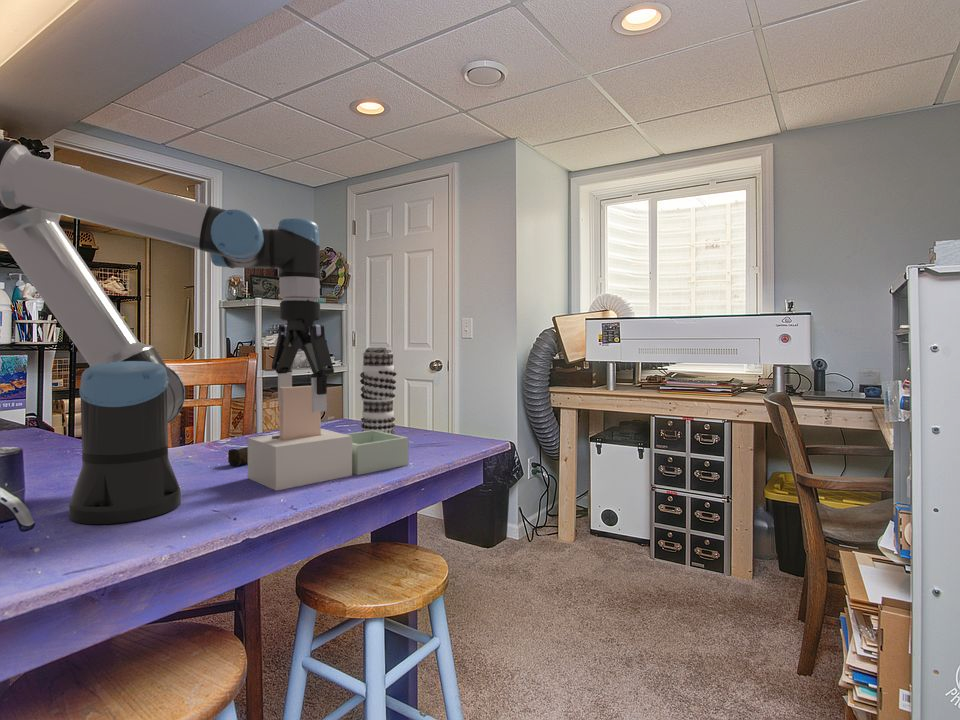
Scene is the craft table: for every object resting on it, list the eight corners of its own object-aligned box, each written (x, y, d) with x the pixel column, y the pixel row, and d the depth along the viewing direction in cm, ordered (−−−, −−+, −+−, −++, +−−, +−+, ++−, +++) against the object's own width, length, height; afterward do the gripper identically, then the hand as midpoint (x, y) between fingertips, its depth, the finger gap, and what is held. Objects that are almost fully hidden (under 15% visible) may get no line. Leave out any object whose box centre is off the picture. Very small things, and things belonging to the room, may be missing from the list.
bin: (357, 475, 114) (357, 445, 113) (324, 464, 123) (324, 436, 122) (408, 464, 123) (408, 437, 123) (373, 455, 132) (373, 429, 132)
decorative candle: (397, 441, 149) (398, 347, 148) (394, 448, 140) (394, 348, 139) (362, 441, 149) (362, 347, 147) (357, 448, 139) (357, 347, 138)
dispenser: (276, 490, 102) (275, 444, 101) (247, 478, 110) (247, 435, 110) (352, 475, 113) (352, 433, 113) (321, 465, 122) (321, 426, 121)
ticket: (283, 470, 108) (282, 388, 107) (279, 469, 109) (279, 387, 108) (320, 464, 114) (320, 385, 113) (316, 463, 115) (316, 385, 114)
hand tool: (237, 469, 119) (237, 447, 118) (226, 466, 121) (226, 444, 121) (310, 454, 134) (311, 434, 134) (300, 451, 136) (300, 432, 136)
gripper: (352, 298, 104) (353, 412, 105) (287, 303, 121) (289, 400, 122) (315, 296, 99) (316, 416, 100) (253, 301, 116) (255, 403, 117)
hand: (301, 408), depth 111 cm, fingers open, 13 cm apart
